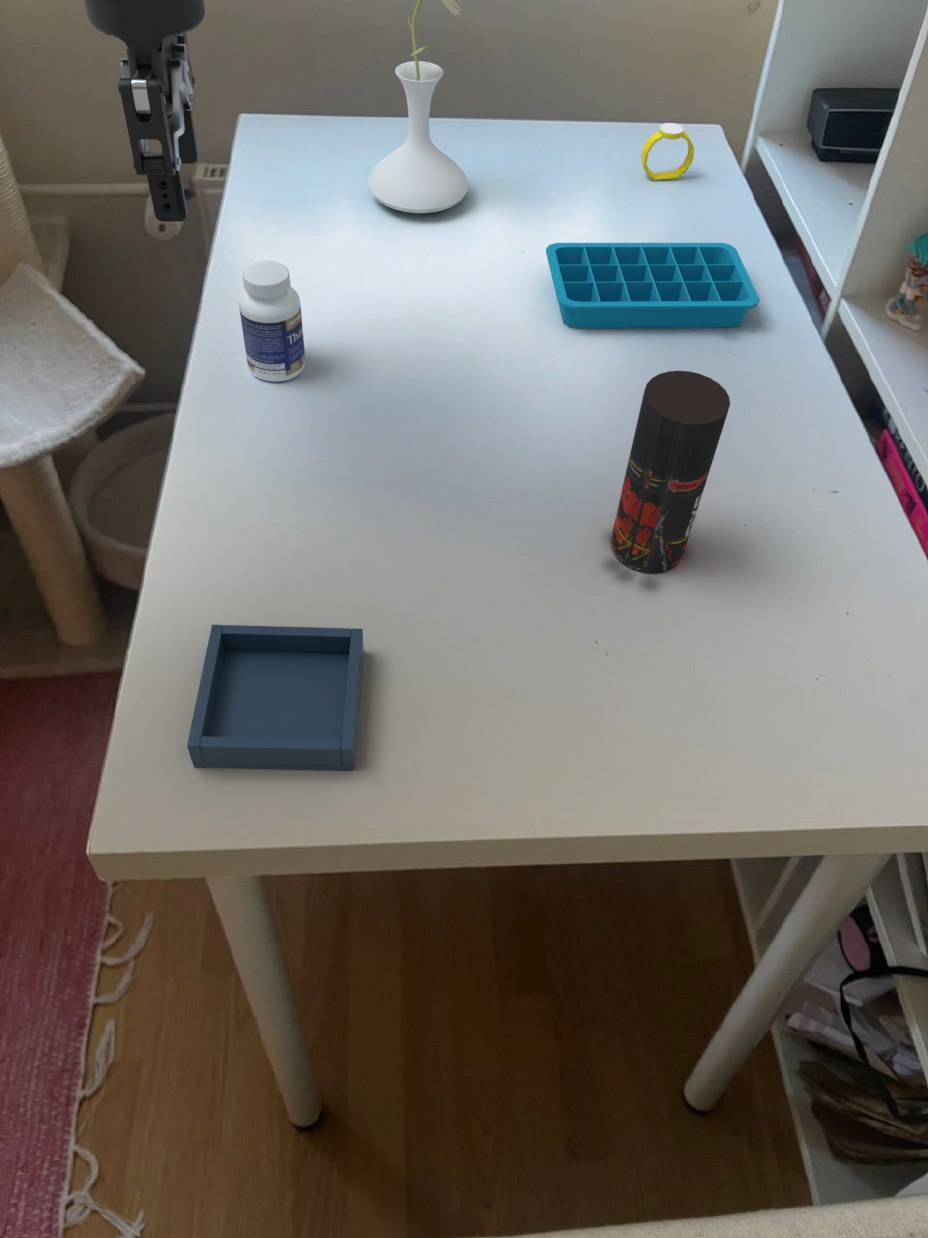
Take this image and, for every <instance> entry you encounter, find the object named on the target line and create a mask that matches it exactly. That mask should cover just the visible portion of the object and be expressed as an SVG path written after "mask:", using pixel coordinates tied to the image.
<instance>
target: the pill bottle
mask: <svg viewBox="0 0 928 1238" xmlns="http://www.w3.org/2000/svg"><path fill="white" fill-rule="evenodd" d="M290 275H291V274H290V270H289V268H288V267H287V266H286V265H285V264H283V263H281V262H279V261H276V260H258V261H254V262H252V263H250V264H248V265H247V266H245V268H244V269H243V271H242V283H243V288H244V289H243V291H241V294H240V296H239V299H238V309H239V315H240V322H241V329H242V336H243V343H244V349H245V358H246V363H247V368H248V370H249V372H250V373H251V374H252V375H253V376H254V377H256V378H257V379H259V380H261V381H266V382H285V381H289V380H292V379H295V377H297V376H298V375H300V374H301V373H302V372H303V371H304V369H305V366H306V357H305V356H306V352H305V341H304V340H305V339H304V330H303V318H302V306H301V299H300V296H299V294H298V292H297V290H295V289H294V288H293V287H292V286H291V285H292V284H291V276H290Z"/></svg>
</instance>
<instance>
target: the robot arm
mask: <svg viewBox="0 0 928 1238" xmlns="http://www.w3.org/2000/svg"><path fill="white" fill-rule="evenodd" d="M83 3H84V4H83V5H84V9H85V13H86V17H87V20H88V21H89V23H90V24H91V25H92V26H93V27H94V28H95V29H96V30H97V31H99V32H101V33H103V34H104V35H107V36H112V37H115V38H117V39H119V40H120V41H122V42H123V43H124V44H125V48H126V49H125V50H126V58H120V69H121V77H119V80H118V81H119V82H118V85H117V87H118V88H117V89H118V93H119V94H120V97H121V104H122V108H123V113H124V119H125V122H126V129H127V133H128V138H129V144H130V149H131V154H132V159H133V162H132V163H133V164H132V165H133V169H134V170H135V173H136V175H137V176H146V178H147V182H148V188H149V192H150V193H149V194H150V198H151V203H152V207H153V212H154V217H155V219H157V221H159V222H164V223H165V222H170V223H171V222H173V223H175V222H177V223H178V222H179V223H181V222H184V221H185V220H186V219H187V216H188V207H187V201H186V194H185V188H184V183H183V178H182V172H181V166H182V164H183V165H184V164H187V165H189V164H190V165H193V164H195V163H197V161H198V158H199V149H198V143H197V137H196V131H195V130H196V129H195V126H194V118H193V113H192V110H193V109H194V108H193V107H194V104H195V98H194V96H193V92H194V88H195V86H194V85H196V79H195V77H194V74H193V69H192V62H191V58H190V51H189V45H188V40H187V39H188V38H187V33H190V32H191V31H194V30H195V29H196V28H198V26H200V25H201V23H202V22H203V20H204V18H205V14H206V7H205V0H83ZM150 140H157V141H159V143H160V146H161V151H151V149H150Z"/></svg>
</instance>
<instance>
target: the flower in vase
mask: <svg viewBox="0 0 928 1238" xmlns="http://www.w3.org/2000/svg"><path fill="white" fill-rule="evenodd" d="M440 1H441V2H442V4H443V5H444V7H445V8H446V9H447V10H448V11H449V13H450V14H452V15H453V16H455V17H457V16H458V15H461V12H462V10H461V8H460V6H459V5H458V3H461V1H460V0H440ZM422 3H423V0H417V3H416V5H415V9H414V11H413V14H412V19H411V17H409V16H408V17H407V22H408V26H409V30H410V32H411V41H412V50H413V52H412V53H410V57H412V56H413V57H414V60H413V61H411V60H410V61H406V62H403V63H401V64H399V65H397V66H396V67H395V71H394V72H395V75H396V76H397V78H398V79H399V80H400V82H401V84H402V87H403V89H404V92H405V98H406V104H407V112H408V116H407V117H408V128H407V135H406V138H405V141H403V143H402V144H401V145H400V146H398V147H397V148H396V149H394V150H393V151H391V152H390V153H389V154H387V155H386V156H385V157H383V158H382V159H380V161H378V162H377V164H375V166H374V167H373V168H372V169H371V171H370V174H369V176H368V180H367V187H368V190H369V192H370V193H371V194H372V196H373V197H374V198H375V199H376V200H377V201H378V202H379V203H381V204H382V205H383V206H385V207H387V208H391V209H392V210H396V211H400V212H405V213H411V214H412V213H413V214H428V213H429V214H430V213H438V212H440V211H441V212H442V211H445V210H448V209H450V208H452V207H454V206H456V205H458V204H459V203H460V202H461V201H462V200H463V199H464V197H465V196H466V194H467V193H468V191H469V181H468V179H467V176H466V174H465V172H464V170H463V169H462V168H461V167H460V165H458V164H457V163H456V162H455V161H454V160H453V159H452V158H451V157H450V156H449V155H447V154H446V153H445V152H443V151H441V150H440V149H439V148H438V147H437V146H436V145H435V144H434V143H433V141H432V139H431V134H430V111H431V105H432V104H431V103H432V99H433V95H434V92H435V89H436V86H437V85H438V82H439V81H440V80H441V78H442V77H443V76H444V70H443V68H442V67H440V66H439V65H438V64H435V63H433V62H428V61H422V60H419V56H418V54H420V53H422V52H424V51H425V50H427V49H429V48H433V47H434V46H435V45H434V44H433V43H432V42H430V41H429V42H428V43H427V44H426V45H425V46H423V47H421V48H418V49H417V44H420V40H419V37H418V36H419V35H418V34H417V32H416V21H417V16H418V13H419V10H420V7H421V4H422Z"/></svg>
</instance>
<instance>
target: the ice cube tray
mask: <svg viewBox="0 0 928 1238" xmlns="http://www.w3.org/2000/svg"><path fill="white" fill-rule="evenodd" d="M545 254H546V258H547V262H548V267H549V272H550V275H551V279H552V284H553V287H554V292H555V297H556V301H557V303H558V307H559V310H560V314H561V319H562V323H563V325H565V326H567V327H569V328H574V329H668V328H670V329H671V328H672V329H674V328H675V329H676V328H677V329H679V328H681V329H683V328H684V329H685V328H686V329H687V328H689V329H690V328H735V327H739V326H740V325H741V324H742V322H743V320H744V317H745V315H746V313H747V310H749V309H753V308H756V307H757V306H758V303H759V302H760V297H759V295H758V293H757V291H756V288H755V286H754V284H753V282H752V280H751V278H750V276H749V273H748V271H747V269H746V266H745V265H744V263H743V260H742V258H741V256H740V254H739V252H738V249H737V248H736V247H734V246H733V245H731V244H728V243H727V242H726V243H725V242H555V243H551V244H549V245H548V246H547V247H546V248H545Z"/></svg>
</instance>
